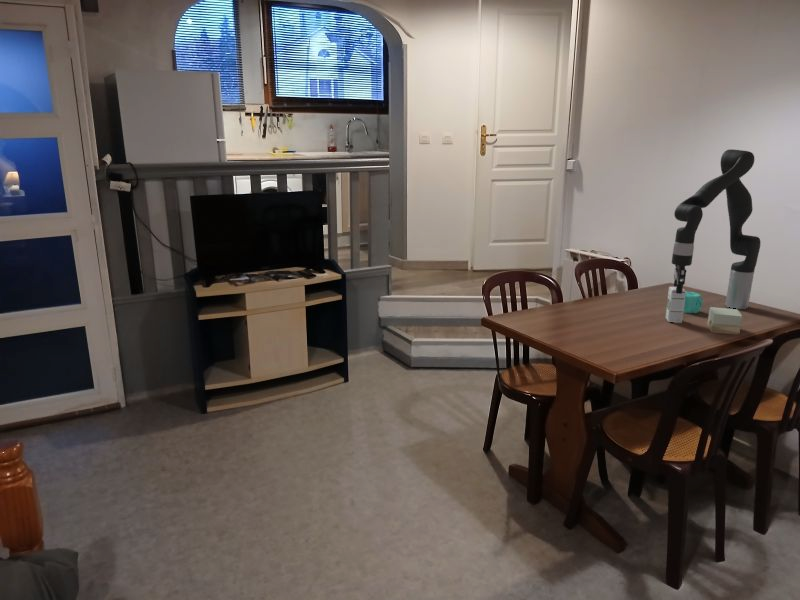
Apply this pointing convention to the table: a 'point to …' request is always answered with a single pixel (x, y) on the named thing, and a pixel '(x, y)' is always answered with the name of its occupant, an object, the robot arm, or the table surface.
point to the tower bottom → (723, 328)
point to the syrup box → (675, 305)
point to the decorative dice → (692, 302)
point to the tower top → (725, 316)
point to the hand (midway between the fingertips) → (677, 291)
